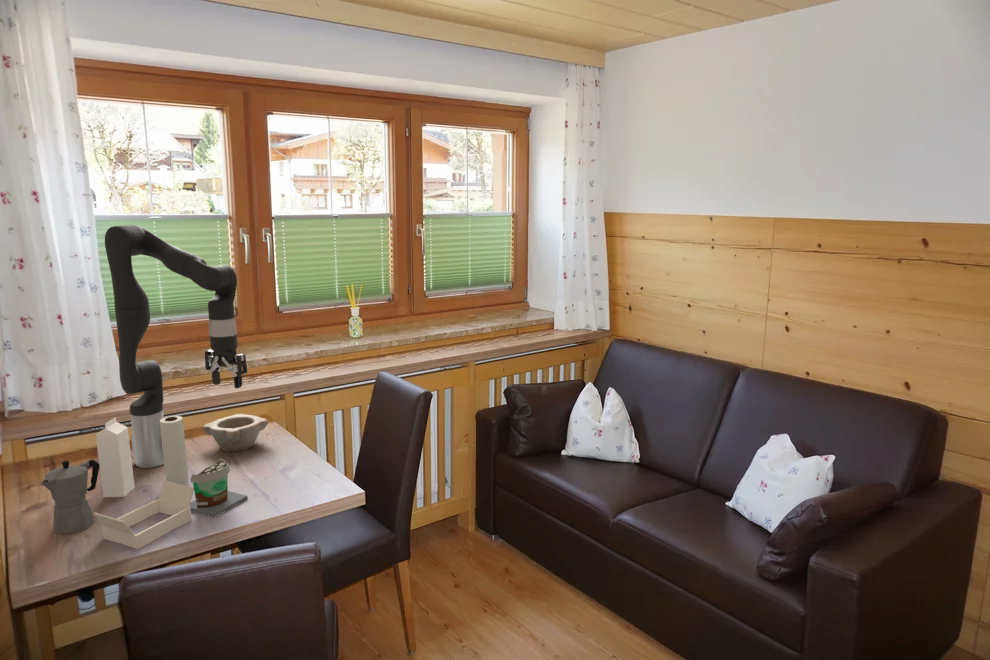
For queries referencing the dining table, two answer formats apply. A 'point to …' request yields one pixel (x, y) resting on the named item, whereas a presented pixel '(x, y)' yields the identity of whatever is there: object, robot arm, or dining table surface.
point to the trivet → (220, 505)
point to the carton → (169, 502)
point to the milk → (115, 460)
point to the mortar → (236, 431)
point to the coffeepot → (71, 496)
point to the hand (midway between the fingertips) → (227, 385)
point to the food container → (211, 485)
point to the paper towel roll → (174, 450)
